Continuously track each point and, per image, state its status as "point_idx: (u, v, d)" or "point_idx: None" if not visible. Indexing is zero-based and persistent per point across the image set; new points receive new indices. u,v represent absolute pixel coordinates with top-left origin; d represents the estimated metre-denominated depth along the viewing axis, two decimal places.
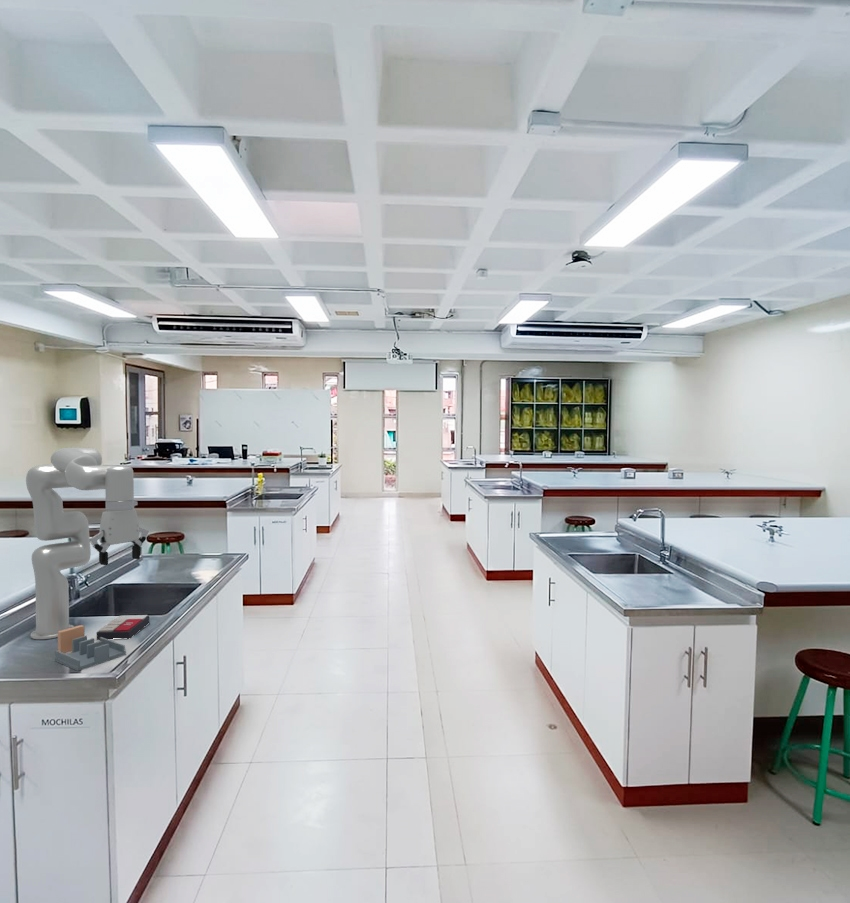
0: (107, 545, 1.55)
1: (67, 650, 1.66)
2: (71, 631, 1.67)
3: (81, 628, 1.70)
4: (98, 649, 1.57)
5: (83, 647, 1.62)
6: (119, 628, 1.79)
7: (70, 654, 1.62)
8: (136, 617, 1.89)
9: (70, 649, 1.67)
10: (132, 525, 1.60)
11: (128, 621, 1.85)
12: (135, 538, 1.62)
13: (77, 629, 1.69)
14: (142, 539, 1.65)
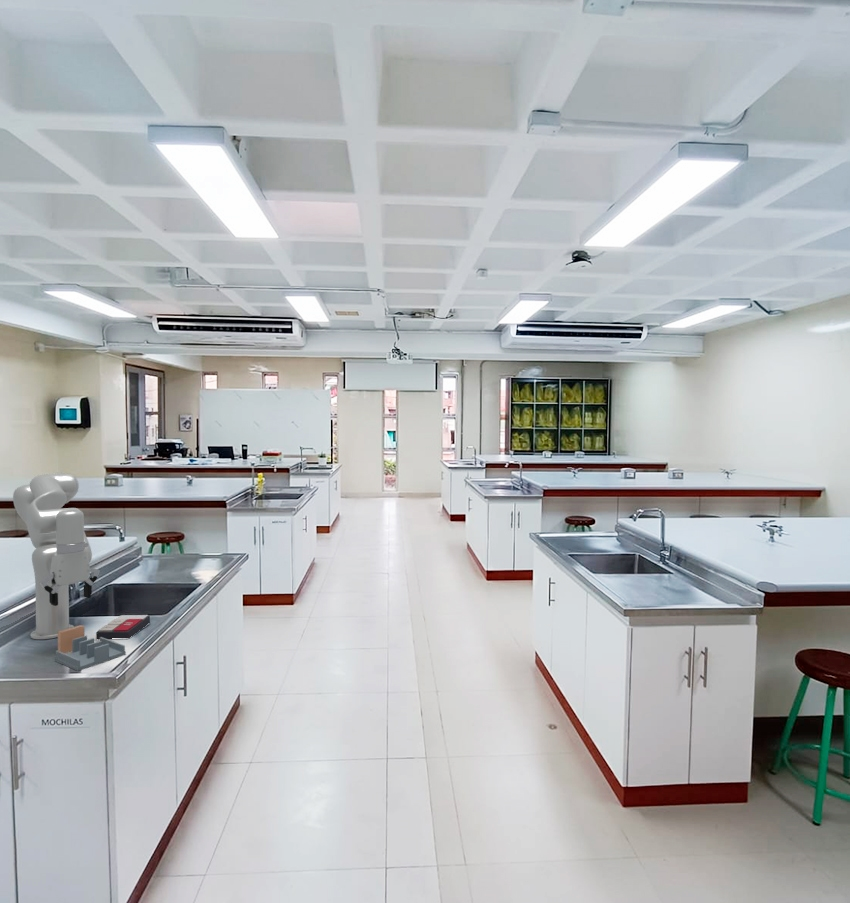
0: (57, 586, 1.63)
1: (67, 650, 1.66)
2: (71, 631, 1.67)
3: (81, 628, 1.70)
4: (98, 649, 1.57)
5: (83, 647, 1.62)
6: (118, 628, 1.79)
7: (70, 654, 1.62)
8: (136, 617, 1.90)
9: (70, 649, 1.67)
10: (82, 566, 1.69)
11: (128, 621, 1.85)
12: (86, 578, 1.70)
13: (77, 629, 1.69)
14: (93, 578, 1.73)
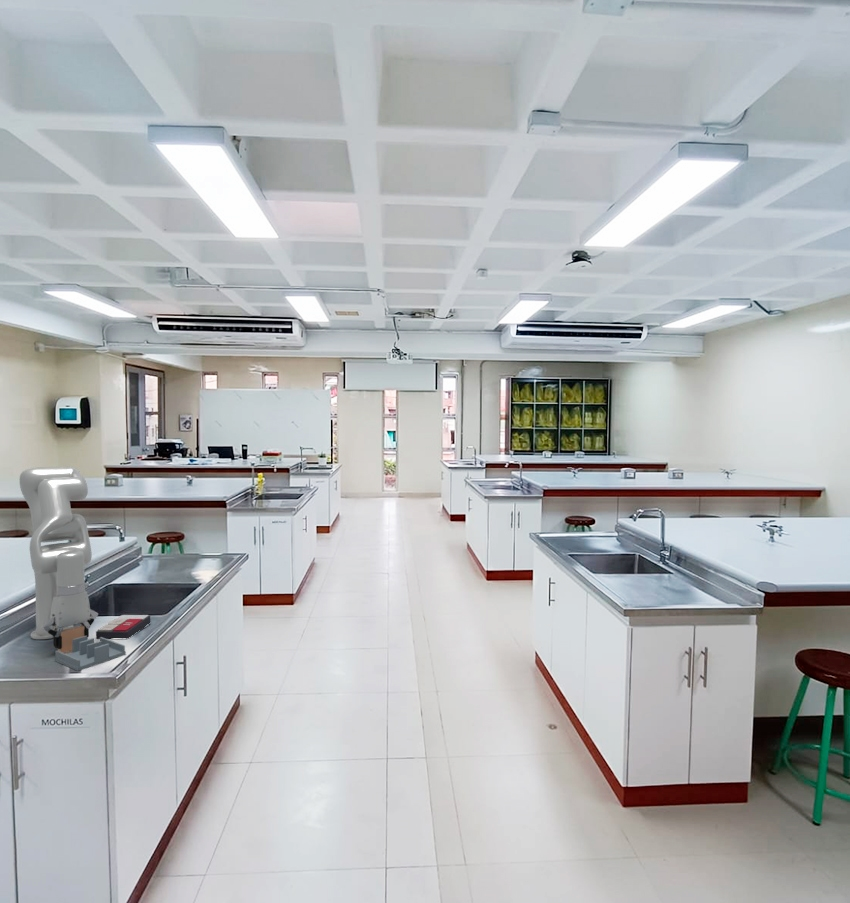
0: (60, 629, 1.64)
1: (67, 650, 1.66)
2: (71, 631, 1.67)
3: (81, 628, 1.70)
4: (98, 649, 1.57)
5: (83, 647, 1.62)
6: (118, 628, 1.79)
7: (70, 654, 1.62)
8: (137, 617, 1.90)
9: (70, 649, 1.67)
10: (83, 607, 1.69)
11: (128, 621, 1.85)
12: (86, 619, 1.70)
13: (77, 629, 1.69)
14: (90, 621, 1.72)
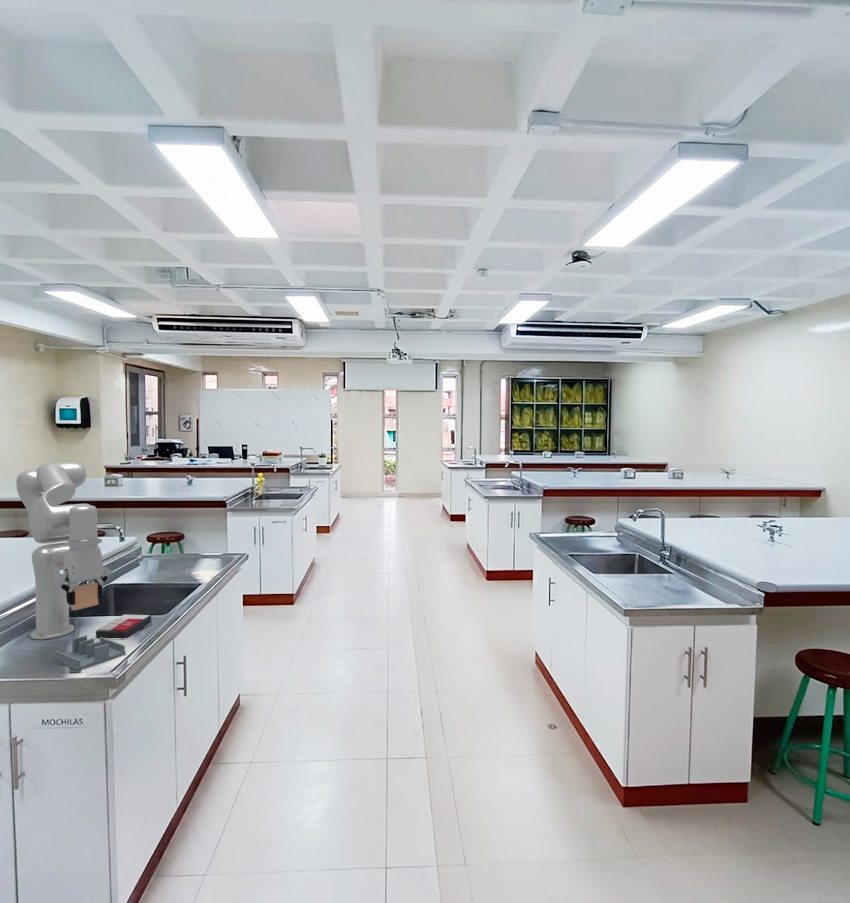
0: (73, 585, 1.59)
1: (81, 606, 1.61)
2: (84, 587, 1.63)
3: (94, 585, 1.65)
4: (98, 649, 1.57)
5: (83, 647, 1.62)
6: (117, 628, 1.79)
7: (70, 654, 1.62)
8: (138, 617, 1.90)
9: (83, 606, 1.62)
10: (96, 563, 1.64)
11: (128, 621, 1.85)
12: (99, 575, 1.65)
13: (90, 585, 1.64)
14: (104, 578, 1.68)
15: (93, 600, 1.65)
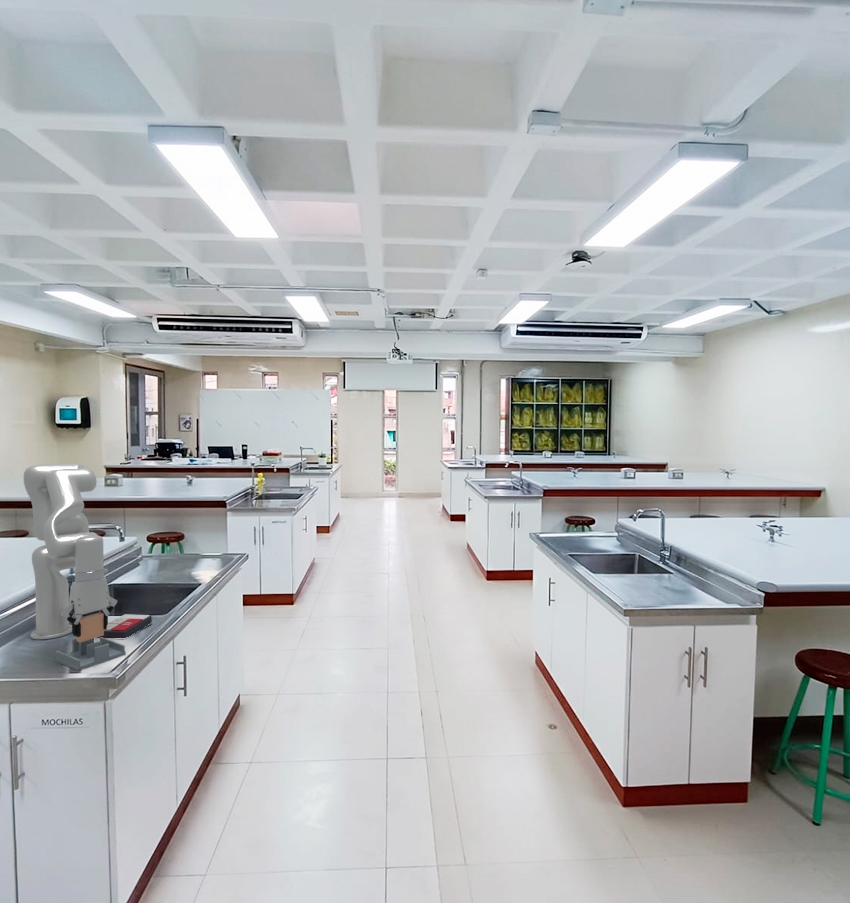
0: (79, 617, 1.58)
1: (86, 638, 1.60)
2: (90, 618, 1.61)
3: (100, 615, 1.64)
4: (98, 649, 1.57)
5: (83, 647, 1.62)
6: (116, 628, 1.79)
7: (70, 654, 1.62)
8: (138, 617, 1.90)
9: (89, 637, 1.61)
10: (102, 594, 1.63)
11: (128, 621, 1.86)
12: (105, 606, 1.64)
13: (96, 616, 1.63)
14: (109, 609, 1.66)
15: (99, 631, 1.63)
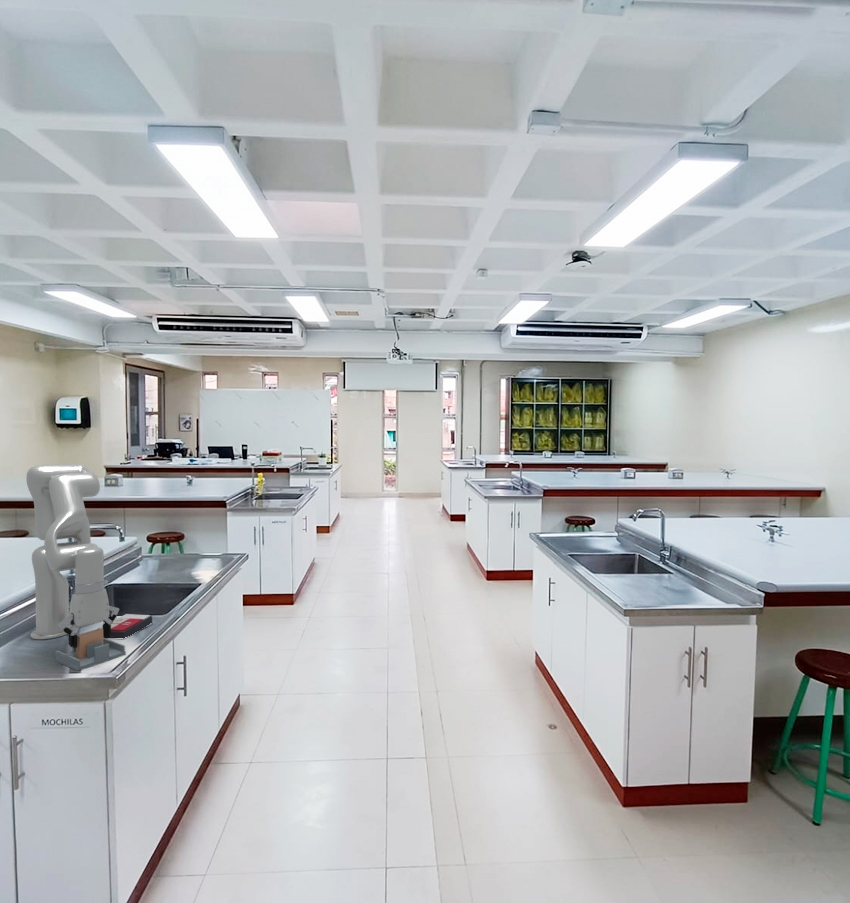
0: (76, 628, 1.57)
1: (86, 654, 1.60)
2: (90, 635, 1.61)
3: (100, 631, 1.64)
4: (98, 649, 1.57)
5: None
6: (116, 627, 1.80)
7: (70, 654, 1.62)
8: (138, 617, 1.90)
9: None
10: (102, 605, 1.63)
11: (128, 621, 1.86)
12: (105, 618, 1.64)
13: (96, 633, 1.63)
14: (112, 617, 1.67)
15: None
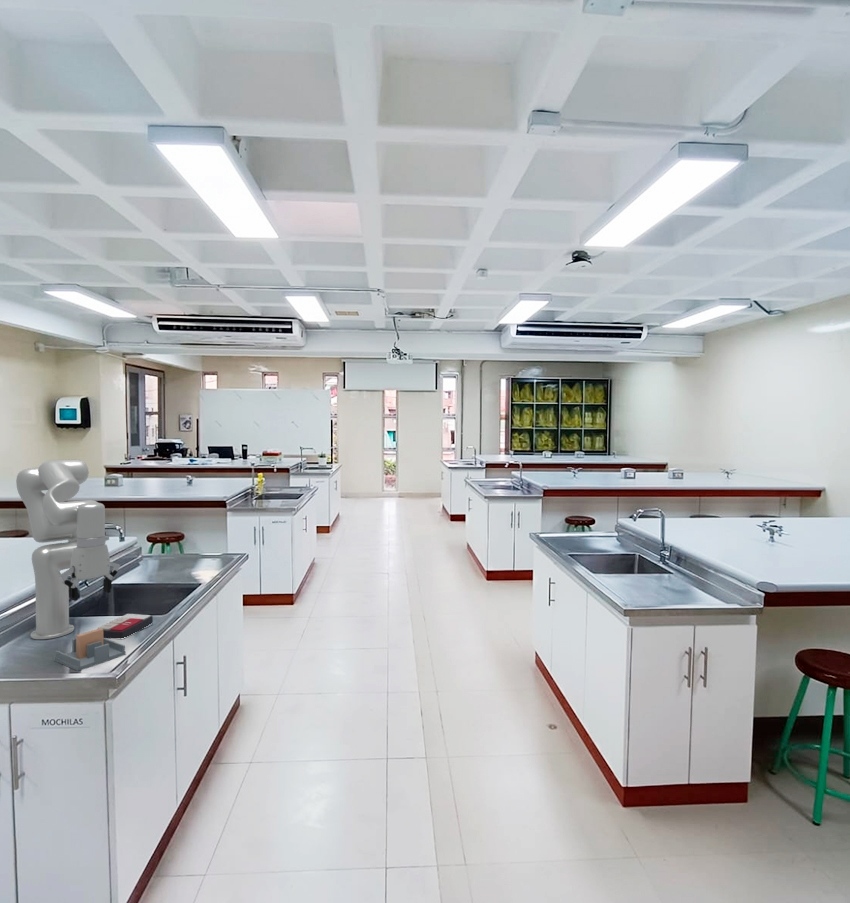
0: (77, 581, 1.59)
1: (86, 654, 1.60)
2: (90, 635, 1.61)
3: (100, 631, 1.64)
4: (98, 649, 1.57)
5: None
6: (115, 627, 1.80)
7: (70, 654, 1.62)
8: (139, 617, 1.90)
9: None
10: (103, 560, 1.65)
11: (129, 620, 1.86)
12: (106, 573, 1.66)
13: (96, 633, 1.63)
14: (113, 573, 1.69)
15: None
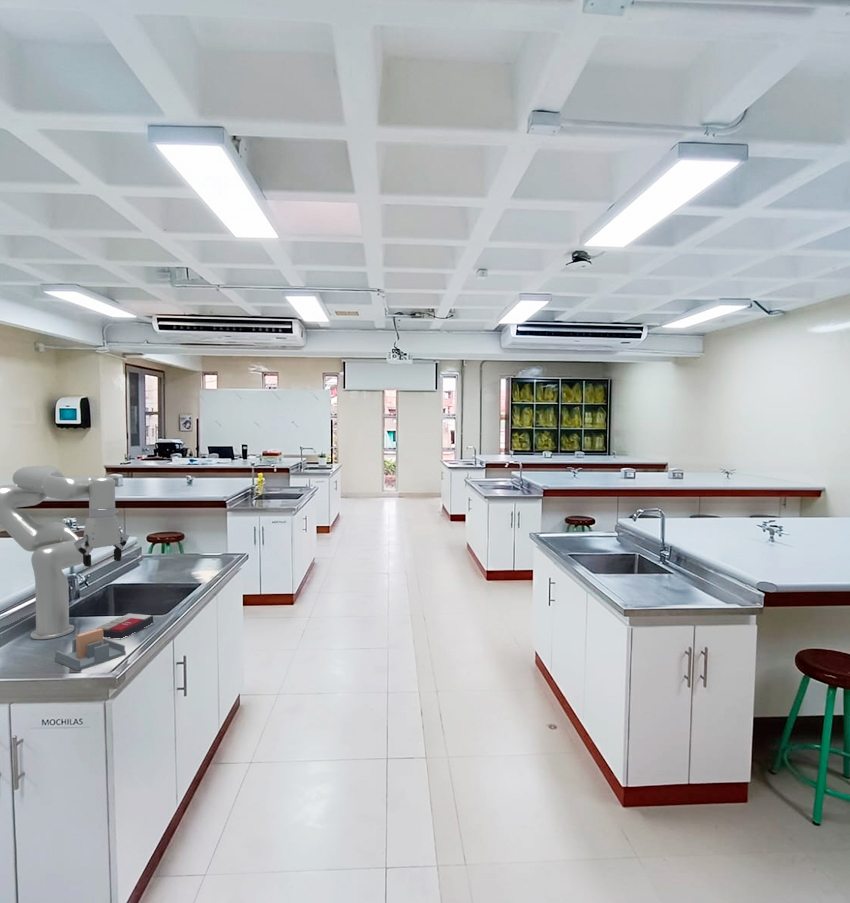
0: (90, 548, 1.72)
1: (86, 654, 1.60)
2: (90, 635, 1.61)
3: (100, 631, 1.64)
4: (98, 649, 1.57)
5: None
6: (115, 627, 1.80)
7: (70, 654, 1.62)
8: (140, 617, 1.90)
9: None
10: (113, 530, 1.77)
11: (129, 620, 1.86)
12: (116, 542, 1.78)
13: (96, 633, 1.63)
14: (123, 543, 1.82)
15: None
